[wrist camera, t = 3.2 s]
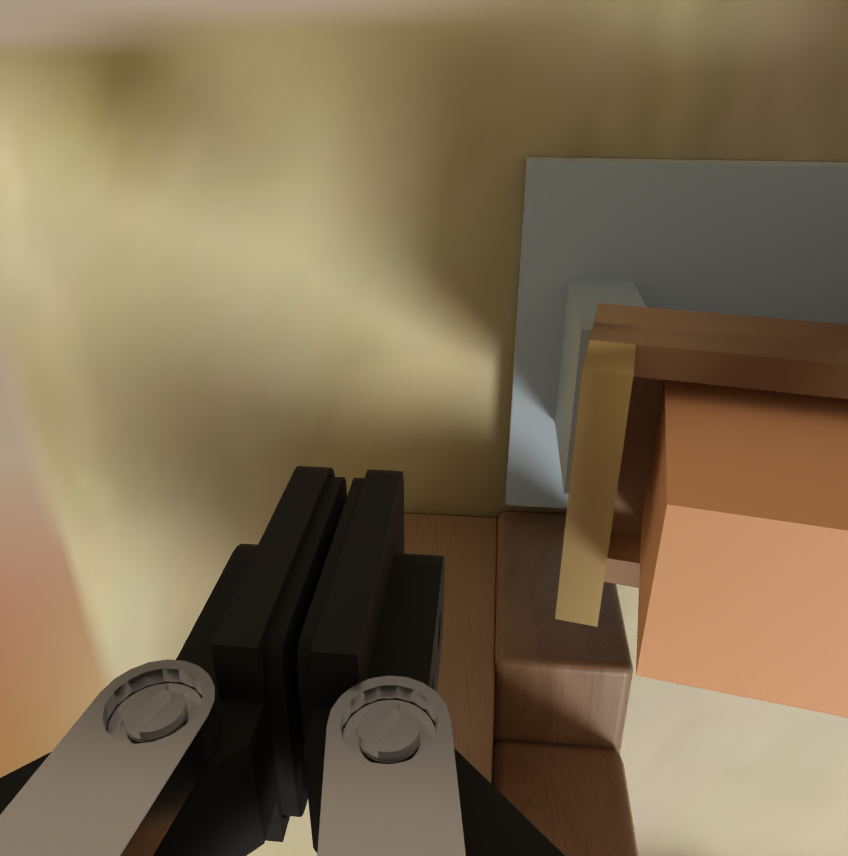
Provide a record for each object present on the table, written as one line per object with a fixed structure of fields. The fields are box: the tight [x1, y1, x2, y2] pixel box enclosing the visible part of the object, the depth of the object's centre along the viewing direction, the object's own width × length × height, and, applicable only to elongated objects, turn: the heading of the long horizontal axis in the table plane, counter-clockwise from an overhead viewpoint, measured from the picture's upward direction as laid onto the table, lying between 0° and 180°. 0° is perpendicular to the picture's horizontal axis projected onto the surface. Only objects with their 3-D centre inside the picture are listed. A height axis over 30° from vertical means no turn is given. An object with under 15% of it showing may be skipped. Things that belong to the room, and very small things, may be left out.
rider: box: [636, 380, 848, 717], centre depth 12 cm, size 5×3×4 cm, turn 90°
